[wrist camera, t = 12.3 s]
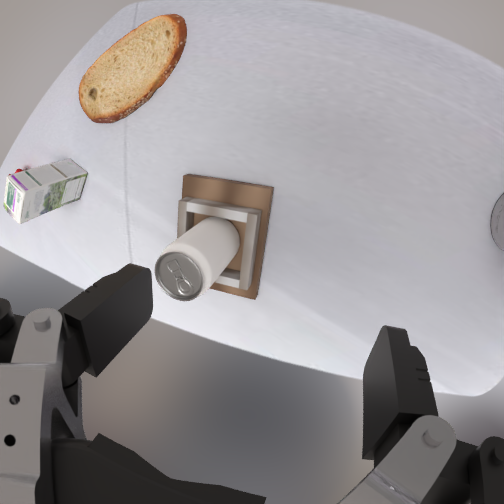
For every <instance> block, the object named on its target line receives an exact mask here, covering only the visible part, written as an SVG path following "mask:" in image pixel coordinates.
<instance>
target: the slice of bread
mask: <svg viewBox="0 0 504 504" xmlns="http://www.w3.org/2000/svg"><path fill="white" fill-rule="evenodd" d="M186 37H187V27H186V24H185V20H184V18H182V17H181V16H179V15H177V14H170V15H161V16H158V17H155V18H153V19H151V20H149V21H147V22H145V23H143V24H141V25H140V26H139V27H138V28H136V29H134V30H132V31H131V32H130V33H128V34H127V35H125V36H124V37H123V38H121V39H120V40H119V41H117V42H116V43H115V44H114V45H112V46H111V47H110V48H109V49H108V50H107V51H106V52H105V53H103V54H102V55H101V56H100V57H99V58H98V59H97V60H96V61H95V62H94V64H93V65H92V66H91V67H90V68H89V69H88V70H87V72H86V73H85V75H84V76H83V77H82V80H81V82H80V85H79V100H80V104H81V107H82V109H83V111H84V112H85V113H86V115H87V116H88V117H89V118H90V119H91V120H92V121H93V122H96V123H113V122H115V121H118V120H120V119H122V118H125V117H126V116H128V115H129V114H131V113H133V112H134V111H135V110H136V109H138V108H139V107H141V106H142V105H143V104H144V103H145V102H147V101H148V100H149V99H150V98H151V96H152V95H153V93H154V92H155V91H156V90H157V89H158V88H159V87H161V86H162V85H163V84H164V82H165V81H166V79H167V78H168V77H169V76H170V74H171V73H172V71H173V69H174V68H175V66H176V65H177V63H178V61H179V59H180V57H181V55H182V52H183V49H184V46H185V43H186Z"/></svg>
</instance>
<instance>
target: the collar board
mask: <svg viewBox="0 0 504 504" xmlns="http://www.w3.org/2000/svg"><path fill="white" fill-rule="evenodd" d="M273 188H274V187H268V186H262V185H257V184H251V183H245V182H239V181H233V180H226V179H220V178H213V177H206V176H199V175H192V174H187V175H184V176H183V188H182V199H181V200H179V205H178V229H177V238H179V237H180V236H182V235H183V234H184V233H186V232H187V231H188V230H190V229H191V228H193V227H194V226H195V225H197V224H198V223H200V222H201V221H203V220H204V219H206V218H209V217H220V218H224V219H226V220H228V221H229V222H231V223H232V224H233V225H234V227H235V228H236V230H237V231H238V234H239V237H240V246H239V250H238V252H237V253H236V255H235V256H234V258H233V259H232V260H231V261H230V263H229V264H228V265H227V267H226V268H225V269H224V270H223V272H222V273H221V274H220V275H219V277H218V278H217V279H216V281H215V282H214V283H213V284H212V286H211V287H210V289H214V290H218V291H222V292H226V293H230V294H234V295H238V296H242V297H246V298H250V299H254V300H255V299H256V297H257V295H258V289H259V282H260V276H261V269H262V263H263V256H264V249H265V243H266V236H267V229H268V223H269V216H270V209H271V202H272V195H273Z"/></svg>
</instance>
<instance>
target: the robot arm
mask: <svg viewBox="0 0 504 504" xmlns="http://www.w3.org/2000/svg"><path fill="white" fill-rule="evenodd" d="M491 232H492V236H493V239H494V241H495V243H496V244H497V245H498V246H499V247H500V248H501V249H502V250H503V251H504V194H503V195H502V196H501V197H500V199H499V200H498V201H497V203H496V205H495V207H494V210H493V213H492V218H491ZM152 311H153V295H152V275H151V271H150V269H149V268H145V267H142V266H138V265H135V264H131V263H130V264H127V265H126V266H125V267H123V268H122V269H121V270H119V271H118V272H116V273H113V274H110V275H108V276H105V277H102V278H101V279H100V280H98V281H97V282H95V283H94V284H93V286H90V287H89V288H87V289H86V290H85V292H84V291H83V292H82V293H81V294H79V295H78V296H77V297H75V298H74V299H73V300H71V301H70V302H69V303H67V304H66V305H65V306H63V307H62V308H61V309H59V310H58V311H57V310H55V309H51V308H42V309H37V310H35V311H33V312H31V313H29V314H28V315H27V316H26V317H24V316H20V315H15V314H13V312H12V308H11V305H10V303H9V301H7V300H6V299H3V298H0V504H264V503H265V500H266V497H263V496H258V495H254V494H250V493H246V492H242V491H239V490H234V489H231V488H228V487H224V486H221V485H212V484H203V483H195V482H188V481H181V480H175V479H171V478H169V477H167V476H166V475H164V474H163V473H162V472H160V471H159V470H157V469H156V468H154V467H153V466H152V465H151V464H149V463H148V462H147V461H145V460H144V459H143V458H142V457H140V456H139V455H138V454H137V453H135V452H134V451H132V450H130V449H128V448H126V447H124V446H122V445H120V444H118V443H116V442H114V441H113V440H111V439H109V438H107V437H105V436H103V435H102V434H100V433H99V434H98V435H97V436H96V437H95V439H94V440H93V441H90V440H87V438H86V435H85V432H84V428H83V419H82V380H81V377H80V376H81V374H82V373H83V372H84V371H85V372H87V373H89V374H91V375H93V376H94V377H97V376H98V375H99V374H100V373H101V372H102V371H103V370H104V369H105V368H106V366H107V365H108V364H109V363H110V362H111V361H112V360H113V359H114V357H115V356H116V355H117V354H118V353H119V352H120V351H121V350H122V349H123V348H124V346H125V345H126V344H127V343H128V342H129V341H130V340H131V339H132V338H133V337H134V336H135V335H136V334H137V332H138V331H139V330H140V329H141V328H142V327H143V326H144V325H145V324H146V323H147V322H148V320H149V319H150V317H151V314H152ZM427 371H428V368H427V365H426V361H425V358H424V356H423V355H422V354H421V352H420V351H419V350H418V348H417V347H415V346H410V342H409V338H408V334H407V331H406V330H405V329H402V328H396V327H391V326H386V325H384V326H383V327H382V328H381V330H380V333H379V335H378V337H377V339H376V342H375V344H374V346H373V348H372V351H371V353H370V355H369V357H368V359H367V362H366V365H365V368H364V373H363V403H364V404H363V411H364V413H363V451H362V459H367V460H374V469H373V470H372V471H371V472H370V473H369V474H368V475H367V476H366V477H365V478H364V479H363V480H362V481H361V482H360V483H359V484H358V485H357V486H356V487H354V489H352V491H350V492H349V493H348V494H347V495H346V496H345V497H344V498H343V499H342V500H340V501H339V502H338V503H337V504H469V503H471V504H504V439H502V438H500V437H495V436H493V437H489V438H487V439H486V440H485V441H484V442H482V443H481V444H480V445H479V446H475V445H472V444H468V443H465V442H462V441H459V440H457V439H456V434H455V432H454V430H453V428H452V427H451V425H450V424H449V423H448V422H447V421H445V420H444V419H442V418H440V417H438V411H437V407H436V402H435V398H434V393H433V389H432V384H431V382H430V376H429V372H427Z"/></svg>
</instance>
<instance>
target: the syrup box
mask: <svg viewBox="0 0 504 504" xmlns="http://www.w3.org/2000/svg"><path fill="white" fill-rule="evenodd" d="M86 177H87V172H86V171H85V170H84V169H82V168H81V167H80V166H78V165H77V164H76V163H75V162H73V161H72V160H71V159H66V160H62V161H59V162H55V163H51V164H47V165H43V166H40V167H36V168H32V169H28V170H24V171H21V172H18V173H14V174H11V175H8V176H7V181H6V188H5V196H4V208H5V209H6V211H7V212H8V213H9V215H10V216H11V217H12V218H13V219H14V220H15V221H16V222H18V223H19V225H20V224H22V223H24V222H26V221H29V220H31V219H33V218H35V217H38V216H40V215H42V214H44V213H47V212H49V211H52V210H54V209H56V208H59V207H61V206H64V205H66V204H69V203H71V202H74V201H76V200H79V199H80V196H81V193H82V189H83V186H84V183H85V180H86Z"/></svg>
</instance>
